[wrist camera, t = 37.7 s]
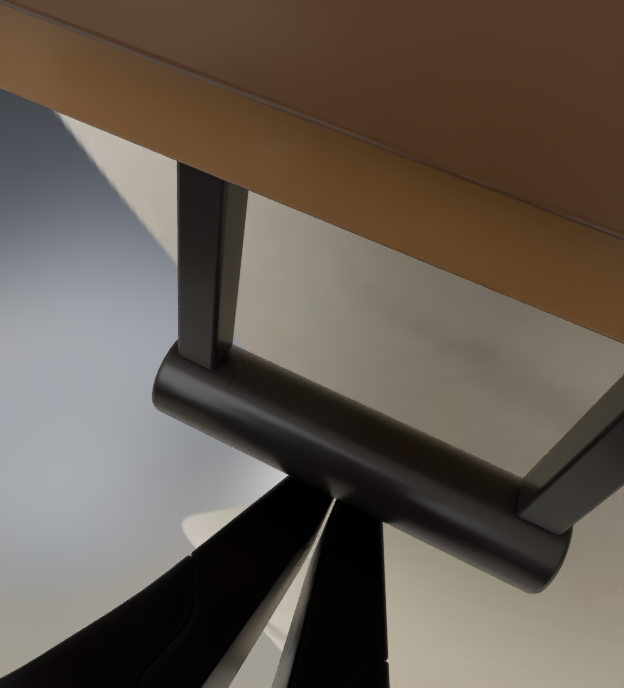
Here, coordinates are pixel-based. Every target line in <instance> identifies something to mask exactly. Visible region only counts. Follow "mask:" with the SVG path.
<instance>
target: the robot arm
mask: <svg viewBox="0 0 624 688" xmlns="http://www.w3.org/2000/svg"><path fill="white" fill-rule="evenodd" d="M333 499H334V497H332V496H330V495H328V494H326V493H324V492H322V491H320V490H318V489H316V488H314V487H312V486H310V485H308V484H306V483H304V482H302V481H300V480H298V479H296V478H294V477H292V476H290V475H288V476H287V477H286V478H285V479H283V480H282V481H281V482H279V483H278V484H277V485H276V486H274V487H273V488H272V489H271V490H269V491H268V492H267V493H266V494H264V495H263V496H262V497H261V498H259V499H258V500H257V501H256V502H254V503H253V504H252V505H251V506H249V507H248V508H247V509H246V510H244V511H243V512H242V513H241V514H239V515H238V516H237V517H236V518H234V519H233V520H232V521H231V522H229V523H228V524H227V525H226V526H224V527H223V528H222V529H221V530H219V531H218V532H217V533H216V534H214V535H213V536H212V537H211V538H209V539H208V540H207V541H206V542H204V543H203V544H202V545H201V546H199V547H198V548H197V549H196V550H194V551H193V552H192V554H191V556H187V557H185V558H184V559H183V560H181V561H180V562H179V563H178V564H176V565H175V566H174V567H173V568H171V569H170V570H169V571H167V572H166V573H165V574H164V575H162V576H161V577H159V578H158V579H157V580H155V581H154V582H153V583H151V584H150V585H149V586H147V587H146V588H145V589H143V590H142V591H141V592H139V593H138V594H136V595H135V596H133V597H132V598H130V599H129V600H127V601H126V602H124V603H123V604H121V605H120V606H118V607H117V608H115V609H114V610H112V611H111V612H109V613H107V614H106V615H105V616H103V617H101V618H99V619H98V620H96V621H95V622H93V623H92V624H90V625H88V626H87V627H85V628H83V629H82V630H80V631H79V632H77V633H75V634H74V635H72V636H71V637H69V638H68V639H66V640H64V641H63V642H61V643H60V644H58V645H57V646H55V647H53V648H51V649H50V650H48V651H47V652H45V653H44V654H42V655H40V656H39V657H37V658H35V659H34V660H32V661H30V662H29V663H27V664H26V665H24V666H22V667H20V668H19V669H17V670H15V671H13V672H11V673H10V674H8V675H6V676H4V677H2V678H0V688H228V687H229V685H230V684H231V682H232V681H233V679H234V677H235V676H236V674H237V672H238V671H239V669H240V668H241V666H242V664H243V663H244V661H245V659H246V658H247V656H248V654H249V653H250V651H251V649H252V648H253V646H254V644H255V643H256V641H257V639H258V638H259V636H260V635H261V633H262V631H263V630H264V628H265V626H266V625H267V623H268V621H269V620H270V618H271V616H272V615H273V613H274V611H275V610H276V608H277V606H278V605H279V603H280V602H281V600H282V598H283V597H284V595H285V593H286V592H287V590H288V588H289V587H290V585H291V583H292V582H293V580H294V578H295V577H296V575H297V574H298V572H299V570H300V569H301V567H302V565H303V563H304V562H305V560H306V558H307V556H308V554H309V552H310V550H311V548H312V546H313V544H314V542H315V540H316V537H317V535H318V533H319V531H320V528H321V526H322V524H323V522H324V520H325V517H326V515H327V513H328V511H329V508H330V506H331V504H332V502H333ZM387 659H388V641H387V616H386V592H385V567H384V542H383V521H381V520H379V519H377V518H375V517H373V516H370V515H368V514H366V513H364V512H362V511H360V510H358V509H356V508H354V507H352V506H350V505H348V504H346V503H344V502H342V501H340V500H338V499H336V502H335V504H334V506H333V509H332V511H331V513H330V516H329V518H328V520H327V523H326V525H325V527H324V530H323V532H322V534H321V537H320V539H319V541H318V544H317V546H316V549H315V551H314V553H313V556H312V559H311V561H310V564H309V567H308V570H307V574H306V577H305V580H304V583H303V587H302V590H301V593H300V597H299V600H298V603H297V606H296V610H295V613H294V616H293V619H292V623H291V626H290V629H289V632H288V636H287V639H286V642H285V646H284V649H283V652H282V655H281V659H280V662H279V666H278V668H277V672H276V675H275V678H274V682H273V685H272V688H390V685H389V664H388V662H386V660H387Z"/></svg>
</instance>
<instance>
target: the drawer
mask: <svg viewBox="0 0 624 688" xmlns="http://www.w3.org/2000/svg"><path fill="white" fill-rule="evenodd" d="M0 88H1V89H3V90H6V91H8V92H11V93H13V94H15V95H18V96H20V97H23V98H25V99H28V100H30V101H33V102H35V103H37V104H40V105H42V106H45V107H47V108H50V109H52V110H54V111H57V112H59V113H62V114H64V115H67V116H69V117H71V118H74V119H76V120H79V121H81V122H84V123H86V124H89V125H91V126H93V127H96V128H98V129H101V130H103V131H106V132H108V133H111V134H113V135H115V136H118V137H120V138H123V139H125V140H128V141H130V142H132V143H135V144H137V145H140V146H142V147H145V148H147V149H150V150H152V151H154V152H157V153H159V154H162V155H164V156H167V157H169V158H171V159H174V160H176V161H177V222H178V340H177V341H176V342H175V343H174V344H173V346H172V347H171V348H170V350H169V352H168V353H167V355H166V356H165V358H164V360H163V362H162V364H161V366H160V368H159V370H158V373H157V375H156V378H155V382H154V385H153V392H152V401H153V404H154V406H155V407H156V408H157V409H158V410H159V411H161V412H163V413H165V414H167V415H169V416H171V417H173V418H175V419H177V420H179V421H181V422H183V423H185V424H187V425H189V426H191V427H193V428H195V429H197V430H199V431H201V432H203V433H205V434H207V435H209V436H211V437H214V438H215V439H217V440H219V441H221V442H223V443H225V444H227V445H229V446H231V447H234V448H235V449H237V450H240V451H241V452H243V453H245V454H247V455H249V456H252V457H254V458H256V459H258V460H260V461H262V462H264V463H266V464H268V465H270V466H272V467H274V468H276V469H278V470H280V471H282V472H284V473H286V474H288V475H290V476H292V477H294V478H296V479H298V480H300V481H302V482H304V483H306V484H308V485H310V486H312V487H314V488H316V489H318V490H320V491H322V492H324V493H326V494H328V495H330V496H332V497H334V498H336V499H338V500H340V501H342V502H344V503H346V504H348V505H350V506H352V507H354V508H356V509H358V510H360V511H362V512H364V513H366V514H368V515H370V516H373V517H375V518H377V519H379V520H381V521H383V522H385V523H387V524H389V525H391V526H393V527H395V528H397V529H399V530H401V531H403V532H405V533H407V534H409V535H411V536H413V537H415V538H417V539H419V540H421V541H423V542H425V543H427V544H429V545H431V546H433V547H435V548H437V549H439V550H441V551H443V552H445V553H447V554H449V555H451V556H453V557H455V558H457V559H459V560H461V561H463V562H465V563H467V564H469V565H471V566H473V567H475V568H477V569H479V570H481V571H483V572H485V573H487V574H490V575H492V576H494V577H496V578H498V579H500V580H502V581H504V582H506V583H508V584H510V585H512V586H514V587H516V588H518V589H520V590H522V591H524V592H526V593H533V594H536V593H539V592H541V591H543V590H544V589H545V588H546V587H547V586H548V585H549V584H550V583H551V582H552V581H553V579H554V578H555V576H556V575H557V573H558V571H559V570H560V568H561V566H562V564H563V562H564V559H565V557H566V554H567V552H568V548H569V545H570V541H571V537H572V531H573V525H574V524H575V523H576V522H577V521H579V520H580V519H581V518H583V517H584V516H585V515H586V514H588V513H589V512H590V511H592V510H593V509H594V508H595V507H597V506H598V505H599V504H600V503H602V502H603V501H604V500H606V499H607V498H608V497H609V496H611V495H612V494H613V493H615V492H616V491H617V490H618V489H620V488H621V487H622V486H624V375H623V376H622V377H621V378H620V379H619V380H618V381H617V382H616V383H615V384H614V385H613V386H612V387H611V388H610V389H609V390H608V391H607V392H606V393H605V394H604V395H603V396H602V397H601V398H600V399H599V400H598V402H597V403H596V404H595V405H594V406H593V407H592V408H591V409H590V410H589V411H588V412H587V413H586V414H585V415H584V416H583V417H582V418H581V419H580V420H579V421H578V422H577V423H576V424H575V425H574V426H573V427H572V428H571V429H570V430H569V431H568V432H567V434H566V435H565V436H564V437H563V438H562V439H561V440H560V441H559V442H558V443H557V444H556V445H555V446H554V447H553V448H552V449H551V450H550V451H549V452H548V453H547V454H546V455H545V456H544V457H543V458H542V459H541V460H540V461H539V462H538V463H537V464H536V466H535V467H534V468H533V469H532V470H531V471H530V472H529V473H528V474H527V475H526V476H525V477H524V478H521V477H519V476H517V475H514V474H512V473H510V472H508V471H506V470H504V469H501V468H499V467H497V466H495V465H493V464H491V463H488V462H486V461H484V460H482V459H480V458H478V457H475V456H473V455H471V454H469V453H467V452H465V451H463V450H460V449H458V448H456V447H454V446H452V445H450V444H447V443H445V442H443V441H441V440H439V439H437V438H434V437H432V436H430V435H428V434H426V433H424V432H421V431H419V430H417V429H415V428H413V427H411V426H408V425H406V424H404V423H402V422H400V421H398V420H395V419H393V418H391V417H389V416H387V415H385V414H382V413H380V412H378V411H376V410H374V409H372V408H369V407H367V406H365V405H363V404H361V403H359V402H356V401H354V400H352V399H350V398H348V397H346V396H344V395H341V394H339V393H337V392H335V391H333V390H331V389H328V388H326V387H324V386H322V385H320V384H318V383H315V382H313V381H311V380H309V379H307V378H305V377H302V376H300V375H298V374H296V373H294V372H292V371H289V370H287V369H285V368H283V367H281V366H279V365H276V364H274V363H272V362H270V361H268V360H266V359H263V358H261V357H259V356H257V355H255V354H253V353H250V352H248V351H246V350H244V349H242V348H240V347H238V346H235V345H233V334H234V325H235V315H236V306H237V296H238V286H239V277H240V267H241V258H242V248H243V239H244V229H245V219H246V210H247V200H248V191H249V190H250V191H252V192H254V193H257V194H259V195H262V196H264V197H267V198H269V199H272V200H274V201H276V202H279V203H281V204H284V205H286V206H289V207H291V208H293V209H296V210H298V211H301V212H303V213H306V214H308V215H311V216H313V217H315V218H318V219H320V220H323V221H325V222H328V223H330V224H333V225H335V226H337V227H340V228H342V229H345V230H347V231H350V232H352V233H354V234H357V235H359V236H362V237H364V238H367V239H369V240H372V241H374V242H376V243H379V244H381V245H384V246H386V247H389V248H391V249H393V250H396V251H398V252H401V253H403V254H406V255H408V256H411V257H413V258H415V259H418V260H420V261H423V262H425V263H428V264H430V265H433V266H435V267H437V268H440V269H442V270H445V271H447V272H450V273H452V274H454V275H457V276H459V277H462V278H464V279H467V280H469V281H472V282H474V283H476V284H479V285H481V286H484V287H486V288H489V289H491V290H494V291H496V292H498V293H501V294H503V295H506V296H508V297H511V298H513V299H515V300H518V301H520V302H523V303H525V304H528V305H530V306H533V307H535V308H537V309H540V310H542V311H545V312H547V313H550V314H552V315H555V316H557V317H559V318H562V319H564V320H567V321H569V322H572V323H574V324H576V325H579V326H581V327H584V328H586V329H589V330H591V331H594V332H596V333H598V334H601V335H603V336H606V337H608V338H611V339H613V340H615V341H618V342H620V343H623V344H624V241H623V240H621V239H618V238H615V237H613V236H610V235H608V234H605V233H602V232H600V231H597V230H594V229H592V228H589V227H587V226H584V225H581V224H579V223H576V222H573V221H571V220H568V219H565V218H563V217H560V216H558V215H555V214H552V213H550V212H547V211H544V210H542V209H539V208H537V207H534V206H531V205H529V204H526V203H523V202H521V201H518V200H515V199H513V198H510V197H508V196H505V195H502V194H500V193H497V192H494V191H492V190H489V189H487V188H484V187H481V186H479V185H476V184H473V183H471V182H468V181H466V180H463V179H460V178H458V177H455V176H452V175H450V174H447V173H444V172H442V171H439V170H437V169H434V168H431V167H429V166H426V165H423V164H421V163H418V162H416V161H413V160H410V159H408V158H405V157H402V156H400V155H397V154H394V153H392V152H389V151H387V150H384V149H381V148H379V147H376V146H373V145H371V144H368V143H366V142H363V141H360V140H358V139H355V138H352V137H350V136H347V135H344V134H342V133H339V132H337V131H334V130H331V129H329V128H326V127H323V126H321V125H318V124H316V123H313V122H310V121H308V120H305V119H302V118H300V117H297V116H294V115H292V114H289V113H287V112H284V111H281V110H279V109H276V108H273V107H271V106H268V105H266V104H263V103H260V102H258V101H255V100H252V99H250V98H247V97H245V96H242V95H239V94H237V93H234V92H231V91H229V90H226V89H223V88H221V87H218V86H216V85H213V84H210V83H208V82H205V81H202V80H200V79H197V78H195V77H192V76H189V75H187V74H184V73H181V72H179V71H176V70H173V69H171V68H168V67H166V66H163V65H160V64H158V63H155V62H152V61H150V60H147V59H145V58H142V57H139V56H137V55H134V54H131V53H129V52H126V51H123V50H121V49H118V48H116V47H113V46H110V45H108V44H105V43H102V42H100V41H97V40H95V39H92V38H89V37H87V36H84V35H81V34H79V33H76V32H73V31H71V30H68V29H66V28H63V27H60V26H58V25H55V24H52V23H50V22H47V21H45V20H42V19H39V18H37V17H34V16H31V15H29V14H26V13H24V12H21V11H18V10H16V9H13V8H10V7H8V6H5V5H2V4H0Z"/></svg>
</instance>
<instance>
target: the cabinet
mask: <svg viewBox="0 0 624 688" xmlns="http://www.w3.org/2000/svg"><path fill="white" fill-rule="evenodd" d="M0 4H2V5H5V6H8V7H10V8H13V9H16V10H18V11H21V12H24V13H26V14H29V15H31V16H34V17H37V18H39V19H42V20H45V21H47V22H50V23H52V24H55V25H58V26H60V27H63V28H66V29H68V30H71V31H73V32H76V33H79V34H81V35H84V36H87V37H89V38H92V39H95V40H97V41H100V42H102V43H105V44H108V45H110V46H113V47H116V48H118V49H121V50H123V51H126V52H129V53H131V54H134V55H137V56H139V57H142V58H145V59H147V60H150V61H152V62H155V63H158V64H160V65H163V66H166V67H168V68H171V69H173V70H176V71H179V72H181V73H184V74H187V75H189V76H192V77H195V78H197V79H200V80H202V81H205V82H208V83H210V84H213V85H216V86H218V87H221V88H223V89H226V90H229V91H231V92H234V93H237V94H239V95H242V96H245V97H247V98H250V99H252V100H255V101H258V102H260V103H263V104H266V105H268V106H271V107H273V108H276V109H279V110H281V111H284V112H287V113H289V114H292V115H294V116H297V117H300V118H302V119H305V120H308V121H310V122H313V123H316V124H318V125H321V126H323V127H326V128H329V129H331V130H334V131H337V132H339V133H342V134H344V135H347V136H350V137H352V138H355V139H358V140H360V141H363V142H366V143H368V144H371V145H373V146H376V147H379V148H381V149H384V150H387V151H389V152H392V153H394V154H397V155H400V156H402V157H405V158H408V159H410V160H413V161H416V162H418V163H421V164H423V165H426V166H429V167H431V168H434V169H437V170H439V171H442V172H444V173H447V174H450V175H452V176H455V177H458V178H460V179H463V180H466V181H468V182H471V183H473V184H476V185H479V186H481V187H484V188H487V189H489V190H492V191H494V192H497V193H500V194H502V195H505V196H508V197H510V198H513V199H515V200H518V201H521V202H523V203H526V204H529V205H531V206H534V207H537V208H539V209H542V210H544V211H547V212H550V213H552V214H555V215H558V216H560V217H563V218H565V219H568V220H571V221H573V222H576V223H579V224H581V225H584V226H587V227H589V228H592V229H594V230H597V231H600V232H602V233H605V234H608V235H610V236H613V237H615V238H618V239H621V240H623V241H624V0H0Z"/></svg>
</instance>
